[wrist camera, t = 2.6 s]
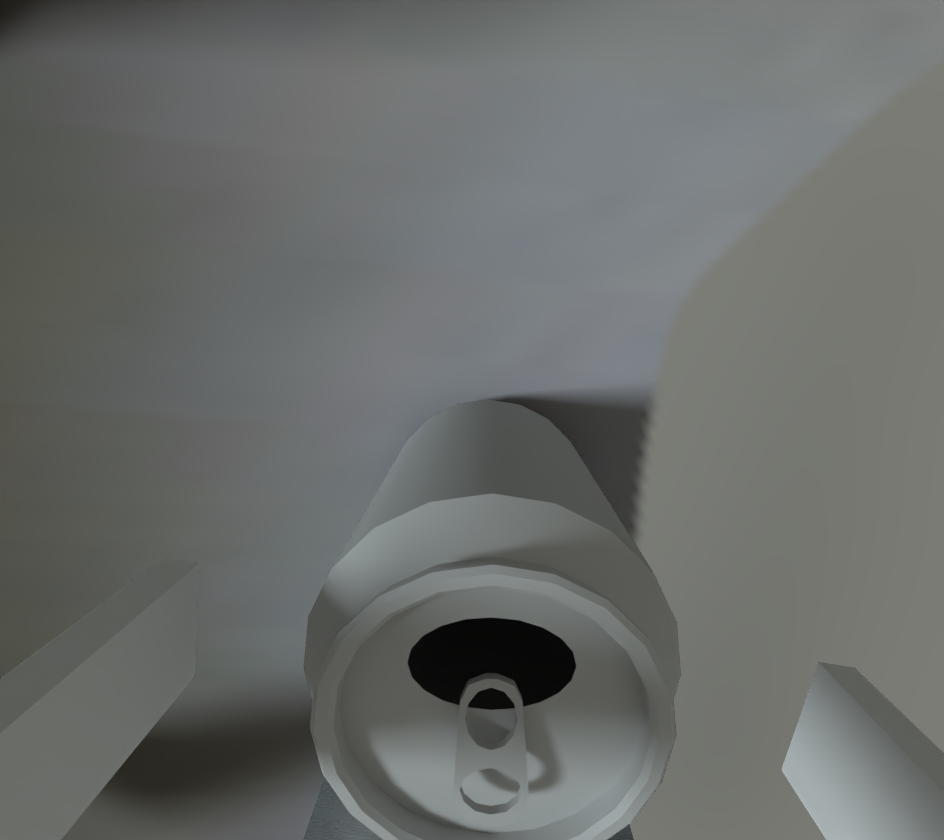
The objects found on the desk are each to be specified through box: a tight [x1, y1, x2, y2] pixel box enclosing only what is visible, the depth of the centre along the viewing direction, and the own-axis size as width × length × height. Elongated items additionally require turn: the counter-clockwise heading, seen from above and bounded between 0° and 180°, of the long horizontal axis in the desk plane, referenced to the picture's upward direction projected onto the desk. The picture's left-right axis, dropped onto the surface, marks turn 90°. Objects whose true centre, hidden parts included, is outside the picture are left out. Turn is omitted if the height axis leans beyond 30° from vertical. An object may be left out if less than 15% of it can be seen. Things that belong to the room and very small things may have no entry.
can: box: [304, 400, 681, 840], centre depth 14 cm, size 8×8×12 cm
